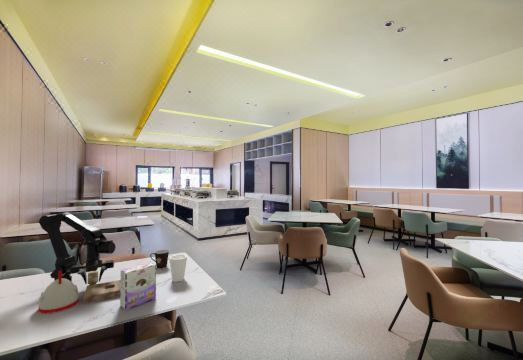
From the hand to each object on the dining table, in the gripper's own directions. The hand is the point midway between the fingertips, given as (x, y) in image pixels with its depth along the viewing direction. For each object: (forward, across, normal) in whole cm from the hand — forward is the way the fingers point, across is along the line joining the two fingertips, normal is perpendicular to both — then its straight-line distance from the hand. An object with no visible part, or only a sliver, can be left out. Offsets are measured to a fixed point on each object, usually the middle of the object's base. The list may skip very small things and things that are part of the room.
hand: (92, 282), depth 125 cm
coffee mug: (+3, +35, +17) cm, 39 cm away
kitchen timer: (+3, -11, -14) cm, 18 cm away
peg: (+2, 0, 0) cm, 2 cm away
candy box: (+3, +20, -29) cm, 35 cm away
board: (+2, +6, -11) cm, 13 cm away
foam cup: (+3, +41, -11) cm, 43 cm away
